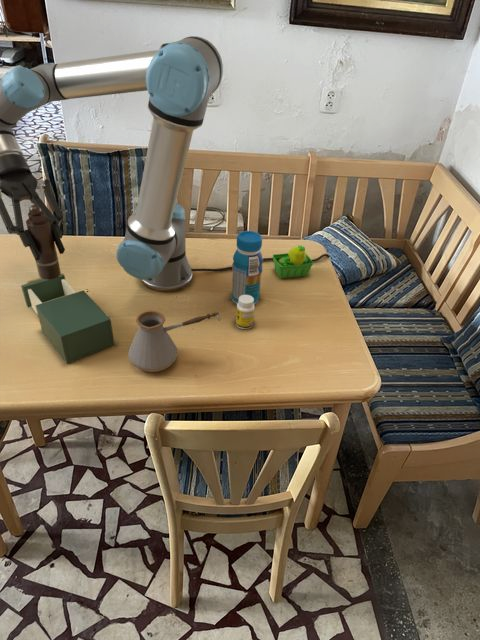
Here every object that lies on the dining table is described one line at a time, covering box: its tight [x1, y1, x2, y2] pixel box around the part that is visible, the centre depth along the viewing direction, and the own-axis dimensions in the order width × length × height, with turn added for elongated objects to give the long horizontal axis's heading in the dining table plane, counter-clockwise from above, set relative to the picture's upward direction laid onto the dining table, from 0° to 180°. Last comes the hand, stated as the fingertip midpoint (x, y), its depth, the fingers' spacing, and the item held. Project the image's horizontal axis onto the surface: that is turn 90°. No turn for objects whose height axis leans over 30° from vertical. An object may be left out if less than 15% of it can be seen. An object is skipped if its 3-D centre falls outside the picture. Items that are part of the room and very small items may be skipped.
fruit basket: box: [272, 244, 314, 279], centre depth 150 cm, size 11×9×11 cm
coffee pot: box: [127, 310, 221, 373], centre depth 113 cm, size 21×12×15 cm, turn 95°
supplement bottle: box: [235, 295, 256, 330], centre depth 129 cm, size 5×5×8 cm
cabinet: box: [36, 290, 115, 364], centre depth 119 cm, size 15×12×8 cm
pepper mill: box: [25, 204, 62, 280], centre depth 113 cm, size 5×5×18 cm
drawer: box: [20, 272, 78, 316], centre depth 126 cm, size 18×11×6 cm, turn 40°
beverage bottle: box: [230, 230, 264, 305], centre depth 134 cm, size 8×8×20 cm
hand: (50, 254), depth 113 cm, fingers closed on pepper mill, 5 cm apart
